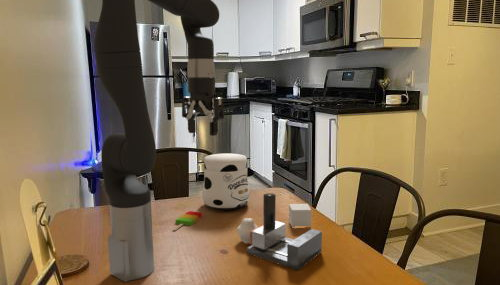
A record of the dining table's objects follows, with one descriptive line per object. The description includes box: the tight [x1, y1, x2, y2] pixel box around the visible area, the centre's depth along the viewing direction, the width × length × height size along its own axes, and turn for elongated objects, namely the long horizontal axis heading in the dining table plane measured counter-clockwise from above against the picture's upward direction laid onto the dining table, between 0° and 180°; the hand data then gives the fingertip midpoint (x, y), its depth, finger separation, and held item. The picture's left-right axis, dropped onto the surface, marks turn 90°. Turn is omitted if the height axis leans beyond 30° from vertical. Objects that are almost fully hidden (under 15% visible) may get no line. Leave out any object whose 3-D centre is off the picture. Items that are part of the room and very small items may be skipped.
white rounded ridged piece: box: [236, 217, 259, 244], centre depth 108 cm, size 6×6×7 cm
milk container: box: [201, 152, 251, 211], centre depth 138 cm, size 17×17×18 cm
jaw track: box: [246, 228, 323, 271], centre depth 100 cm, size 12×16×6 cm
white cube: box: [288, 203, 312, 227], centre depth 120 cm, size 6×6×6 cm
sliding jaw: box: [249, 192, 287, 250], centre depth 103 cm, size 10×5×13 cm, turn 142°
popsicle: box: [172, 210, 203, 232], centre depth 123 cm, size 6×15×2 cm, turn 162°
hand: (202, 134), depth 108 cm, fingers open, 8 cm apart
